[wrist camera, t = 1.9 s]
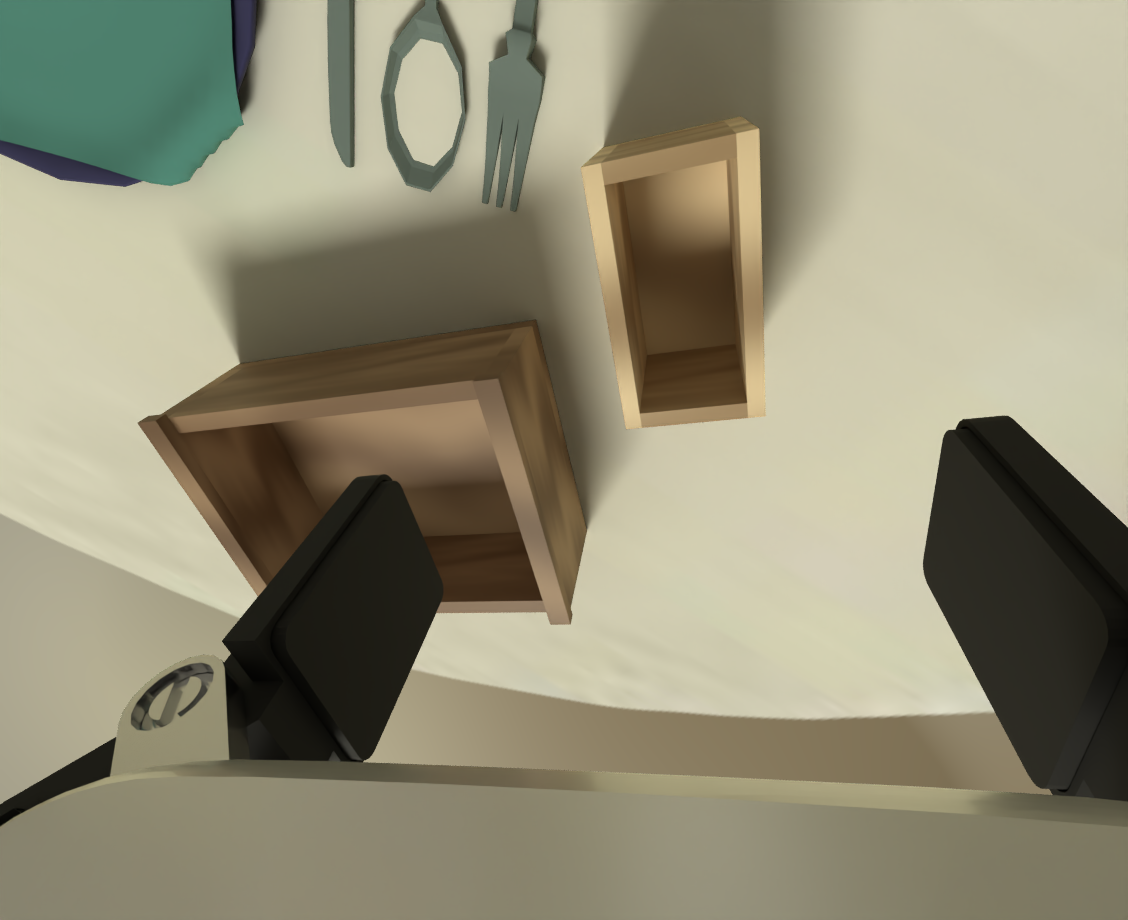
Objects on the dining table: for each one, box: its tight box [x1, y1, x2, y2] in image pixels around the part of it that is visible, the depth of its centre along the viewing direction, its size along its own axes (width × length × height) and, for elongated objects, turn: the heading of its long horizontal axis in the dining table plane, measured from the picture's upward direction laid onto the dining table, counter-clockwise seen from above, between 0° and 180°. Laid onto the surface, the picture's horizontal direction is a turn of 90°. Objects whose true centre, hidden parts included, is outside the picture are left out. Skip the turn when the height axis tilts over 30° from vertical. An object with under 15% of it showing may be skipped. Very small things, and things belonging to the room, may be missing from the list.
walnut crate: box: [138, 320, 587, 625], centre depth 28 cm, size 13×17×7 cm
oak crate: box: [581, 116, 766, 429], centre depth 21 cm, size 9×5×6 cm, turn 12°
